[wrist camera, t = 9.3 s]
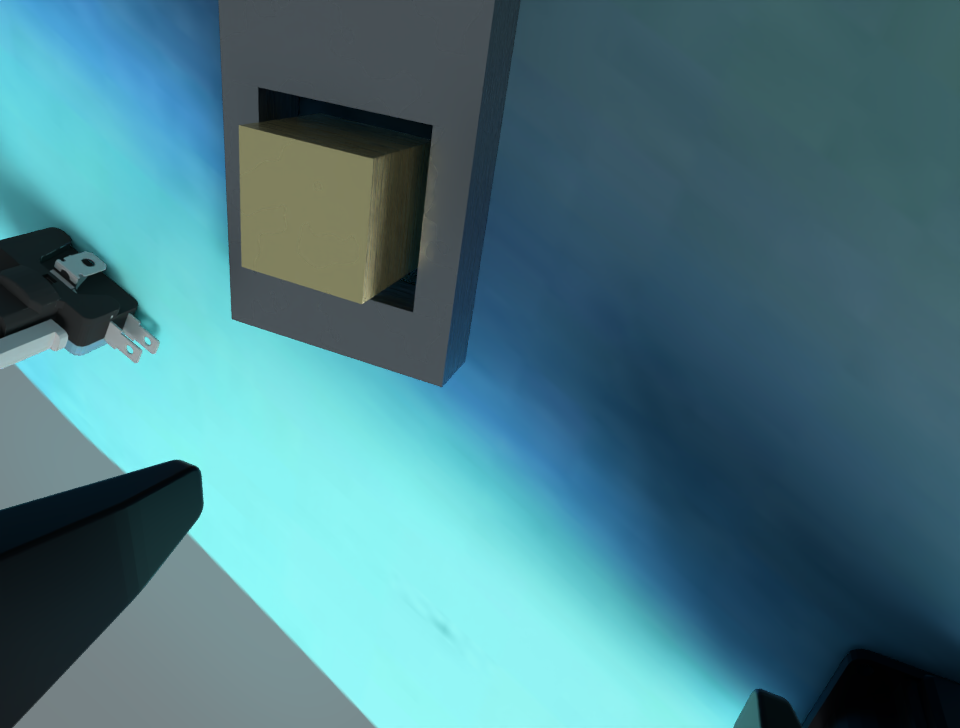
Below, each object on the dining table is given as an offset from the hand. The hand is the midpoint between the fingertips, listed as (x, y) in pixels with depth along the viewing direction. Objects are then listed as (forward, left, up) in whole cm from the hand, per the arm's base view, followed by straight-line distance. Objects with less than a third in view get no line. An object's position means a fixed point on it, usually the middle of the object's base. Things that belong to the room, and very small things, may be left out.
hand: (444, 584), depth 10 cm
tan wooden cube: (+2, +8, -12) cm, 15 cm away
